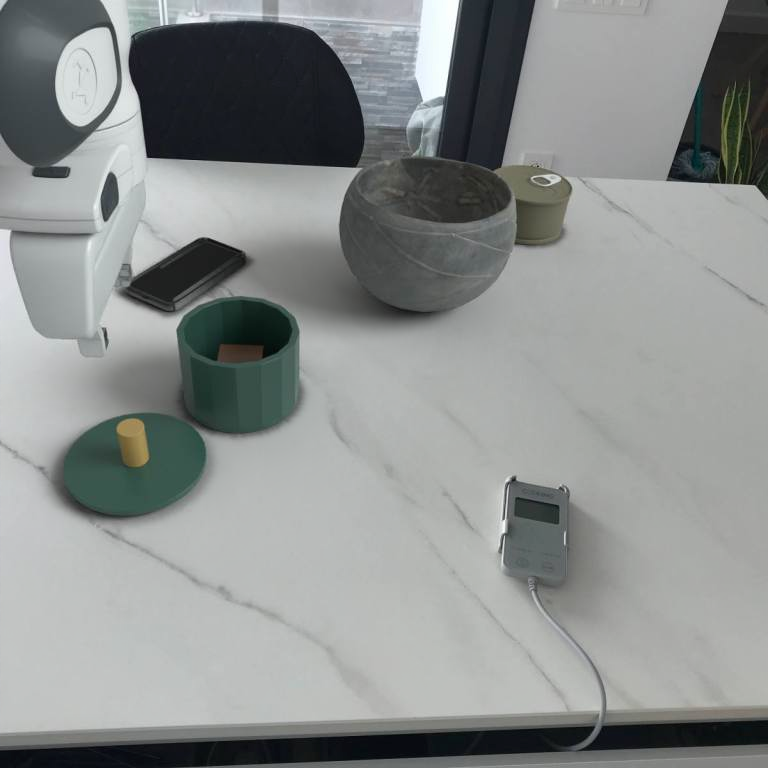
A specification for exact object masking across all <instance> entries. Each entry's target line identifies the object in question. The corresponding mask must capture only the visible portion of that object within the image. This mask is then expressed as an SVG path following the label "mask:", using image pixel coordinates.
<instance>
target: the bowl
mask: <svg viewBox="0 0 768 768" xmlns="http://www.w3.org/2000/svg"><path fill="white" fill-rule="evenodd" d="M493 171H494V170H492V169H489V168H487V167H484V166H480V165H479V164H474V163H471V162H465V161H461V160H460V161H459V160H455V159H449V158H443V157H440V156H439V157H438V156H427V155H426V156H425V155H410V156H409V155H408V156H400V157H393V158H390V159H384V160H380V161H378V162H375V163H374V162H373V163H371V164H368V165H366V166H364V167H362V168H361V169H360V170H358V171H357V173H356V174H355V175H354V177H353V178H352V179H351V181H350V183H349V185H348V187H347V190H345V191H346V192H345V193H344V197H343V200H342V204H341V209H340V212H339V213H340V214H339V220H338V221H339V222H338V233H339V234H338V235H339V240H340V241H339V242H340V247H341V251H342V255H343V258H344V260H345V262H346V264H347V266H348V268H349V269H350V272H351V273H352V275H353V276H354V277H355V278H356V279H357V281H358V282H359V283H360V284H361V286H362V287H363V289H365V290H366V291H367V292H368V293H370V294H371V295H372V296H373V297H374V298H376V299H377V300H379V301H381V302H383V303H385V304H387V305H390V306H392V307H394V308H395V307H396V308H399V309H403V310H407V311H412V312H422V313H423V312H424V313H428V312H443V311H444V312H445V311H449V310H454V309H457V308H459V307H463V306H464V305H466V304H468V303H470V302H472V301H473V300H475V299H477V298H479V297H481V295H483V294H484V293H485V292H486V291H488V290H489V289H490V288H491V287H492V286H493V285H494V284H495V283H496V282H497V280H499V278H500V276H501V275H502V273H503V272H504V269H505V268H506V266H507V264H508V262H509V259H510V257H511V253H512V252H513V251H514V247H515V244H516V243H515V239H516V230H517V224H516V221H517V213H516V202H515V197H514V193H513V190H512V188H511V186H510V185H509V184H508V183H507V182H506V181H505V180H504V179H503V178H502V177H500V175H498V174H496V173H495V172H493Z"/></svg>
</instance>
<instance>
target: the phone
mask: <svg viewBox="0 0 768 768" xmlns="http://www.w3.org/2000/svg"><path fill="white" fill-rule="evenodd" d="M246 263H247V254H246V252H245V251H244V250H242V249H239V248H237V247H234V246H231V245H229V244H226V243H224V242H221V241H219V240H216V239H213V238H211V237H207V236H201V237H198V238H196V239H194V240H193V241H191V242H190V243H188V244H186V245H185V246H183V247H180V248H179V249H178V250H176V251H174V252H173V253H171V254H170V255H168V256H166V257H165V258H163V259H161V260H159V261H157V262H156V263H155V264H153V265H152V266H150V267H147V268H146V269H145V270H143V271H142V272H140V273H138V274H136V275H134V276H133V279H132V281H131V283H130V286H129V287H125V288H126V293H127V295H129V296H131V297H132V298H135V299H138V300H140V301H142V302H144V303H147V304H148V305H151V306H153V307H156V308H157V309H160V310H163V311H165V312H175V311H178V310H180V309H181V308H183V307H185V306H186V305H187V304H189V303H190V302H191V301H193V300H194V299H196V298H198V297H199V296H200V295H202V294H204V293H205V292H206V291H208V290H209V289H211V288H212V287H213V286H215V285H216V284H218V283H220V282H221V281H223V280H224V279H225V278H227V277H228V276H230V275H231V274H232V273H234V272H236V271H237V270H239V269H240V268H241V267H243V266H244V265H246Z"/></svg>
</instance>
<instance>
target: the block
mask: <svg viewBox="0 0 768 768" xmlns="http://www.w3.org/2000/svg"><path fill="white" fill-rule="evenodd" d="M261 359H264V346H259V345H231V344H220V348H219V353H218V358H217V361H219V362H227V363H235V364H236V363H245V362H253V361H258V360H261Z"/></svg>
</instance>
